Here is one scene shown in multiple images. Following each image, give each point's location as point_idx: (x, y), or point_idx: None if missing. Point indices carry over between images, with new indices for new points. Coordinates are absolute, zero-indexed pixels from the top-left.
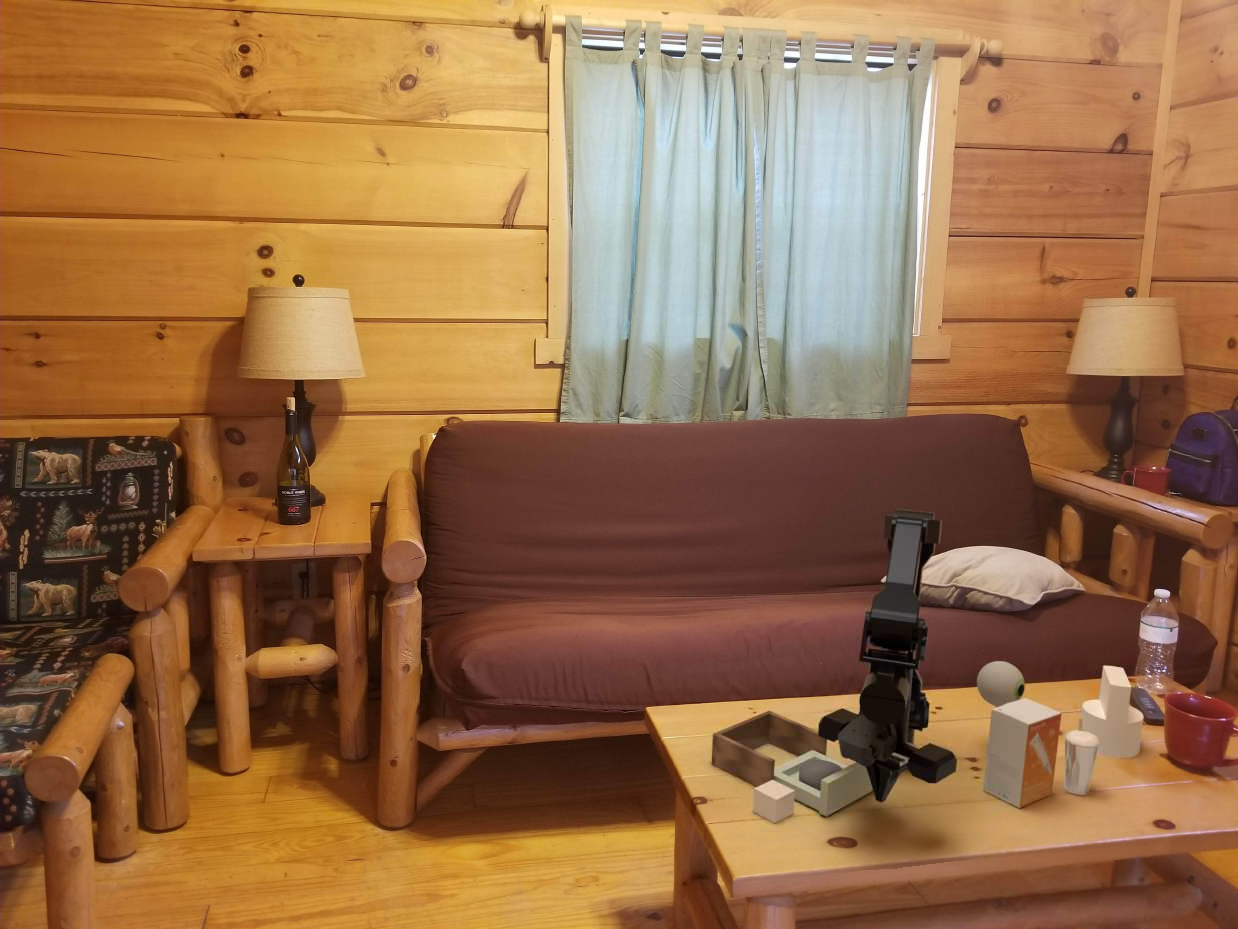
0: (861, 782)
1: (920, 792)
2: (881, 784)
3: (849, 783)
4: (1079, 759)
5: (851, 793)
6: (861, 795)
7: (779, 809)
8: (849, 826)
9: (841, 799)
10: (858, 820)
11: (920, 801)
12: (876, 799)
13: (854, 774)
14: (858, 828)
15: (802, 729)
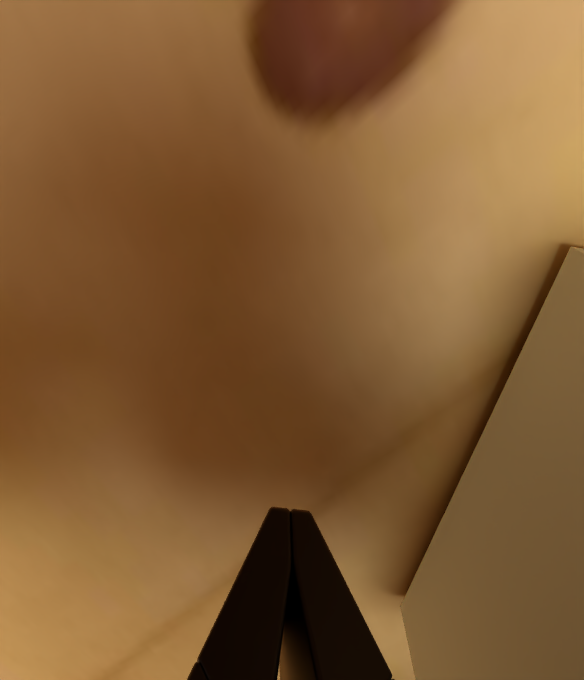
0: (466, 610)
1: None
2: (250, 654)
3: (538, 563)
4: None
5: (488, 511)
6: (438, 539)
7: None
8: (392, 258)
9: (530, 428)
10: (370, 353)
11: (212, 623)
12: (306, 517)
13: (539, 653)
14: (334, 274)
15: None
